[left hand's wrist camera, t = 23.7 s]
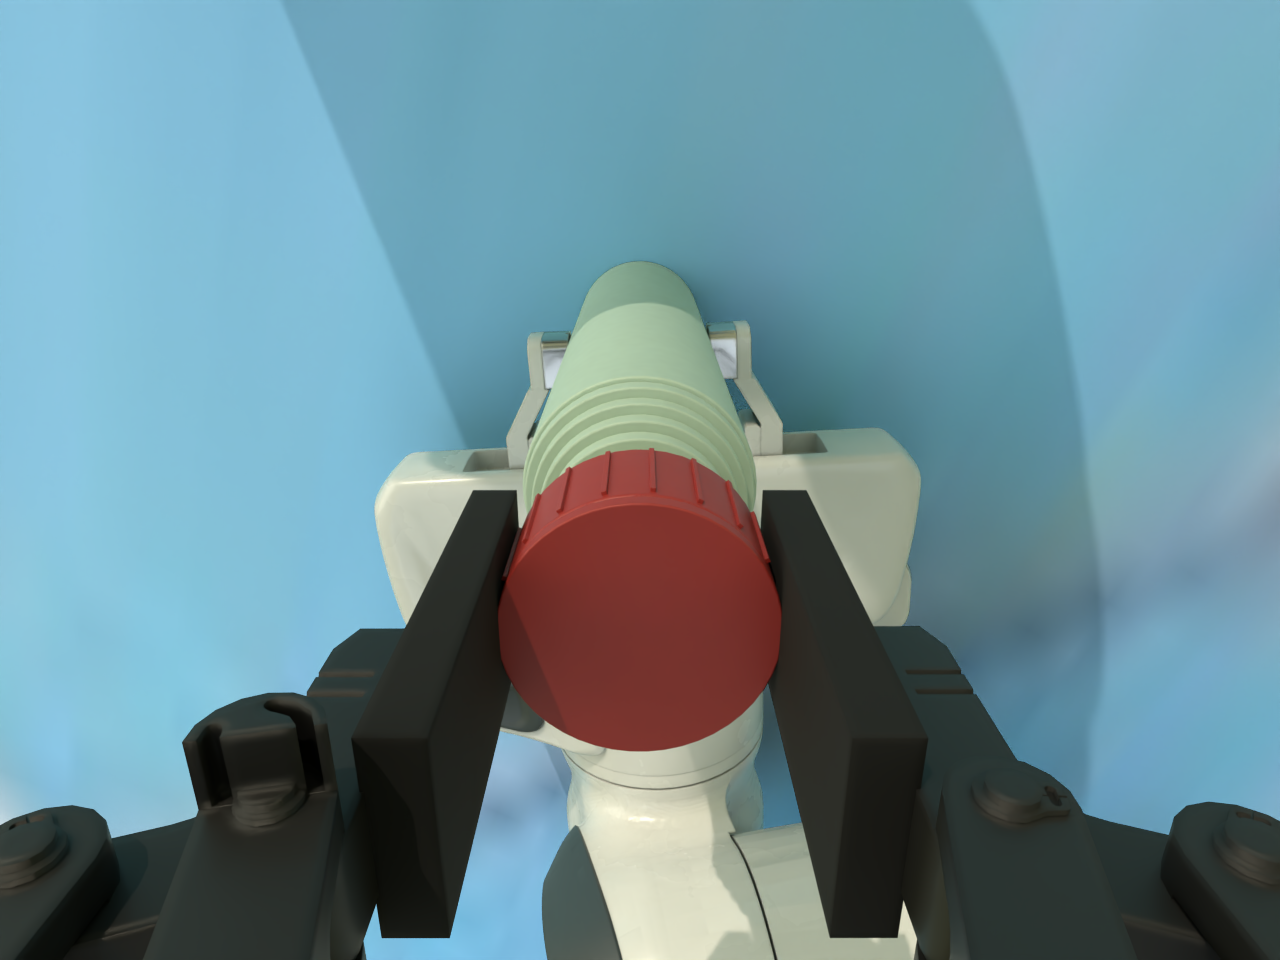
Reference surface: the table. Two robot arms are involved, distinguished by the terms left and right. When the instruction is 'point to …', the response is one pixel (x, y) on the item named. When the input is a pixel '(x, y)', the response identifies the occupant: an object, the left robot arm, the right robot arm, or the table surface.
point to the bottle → (639, 385)
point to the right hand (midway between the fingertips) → (637, 328)
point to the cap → (639, 603)
